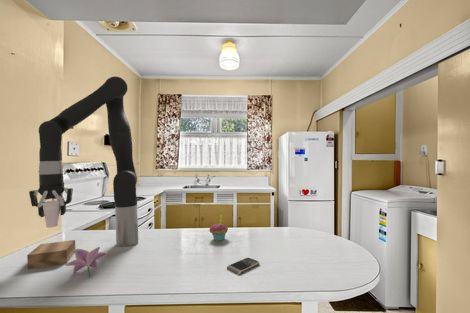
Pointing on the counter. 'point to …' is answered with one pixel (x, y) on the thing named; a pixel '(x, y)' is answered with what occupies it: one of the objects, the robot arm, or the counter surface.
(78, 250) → the lily
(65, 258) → the walnut block
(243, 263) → the cell phone
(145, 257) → the counter surface
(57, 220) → the smoothie
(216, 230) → the cupcake
